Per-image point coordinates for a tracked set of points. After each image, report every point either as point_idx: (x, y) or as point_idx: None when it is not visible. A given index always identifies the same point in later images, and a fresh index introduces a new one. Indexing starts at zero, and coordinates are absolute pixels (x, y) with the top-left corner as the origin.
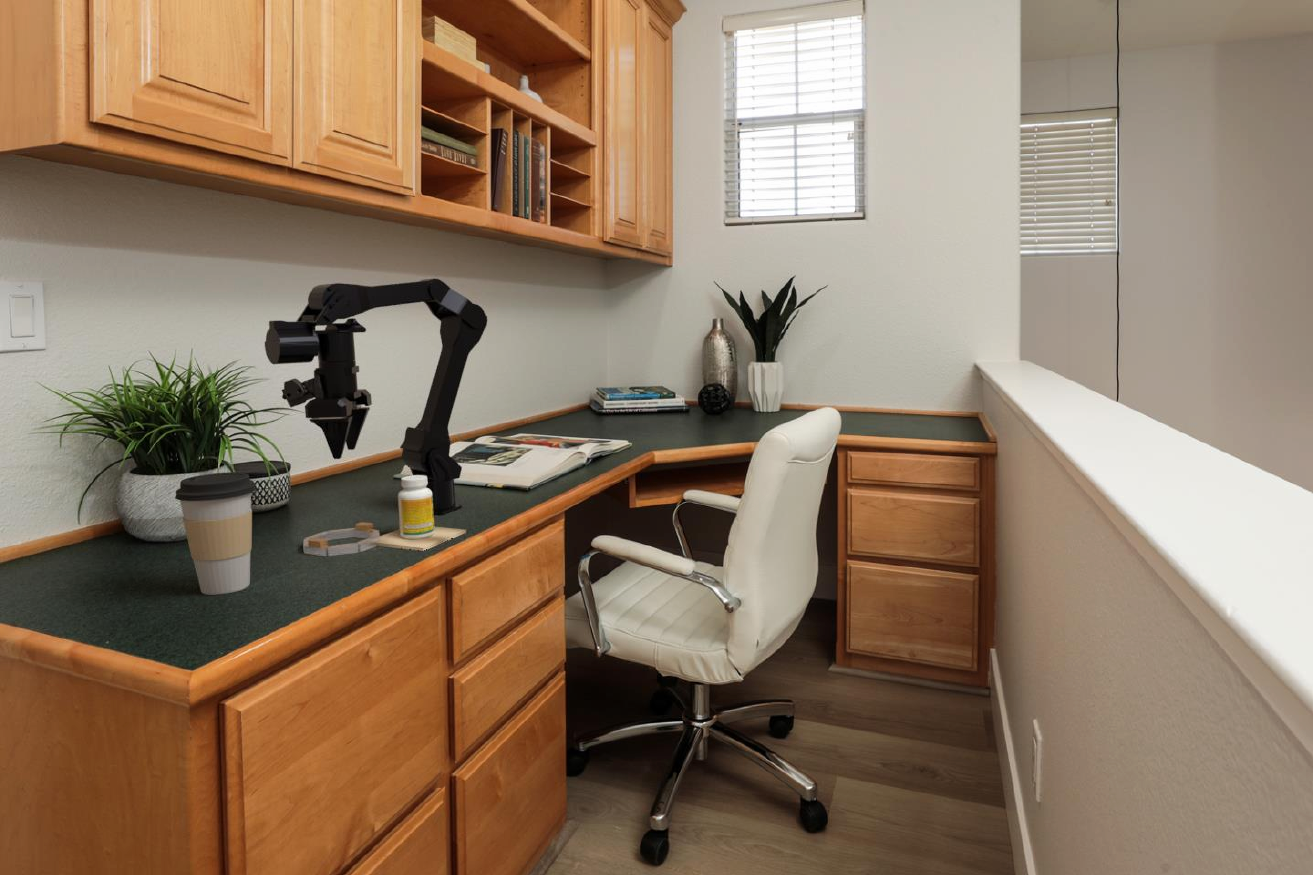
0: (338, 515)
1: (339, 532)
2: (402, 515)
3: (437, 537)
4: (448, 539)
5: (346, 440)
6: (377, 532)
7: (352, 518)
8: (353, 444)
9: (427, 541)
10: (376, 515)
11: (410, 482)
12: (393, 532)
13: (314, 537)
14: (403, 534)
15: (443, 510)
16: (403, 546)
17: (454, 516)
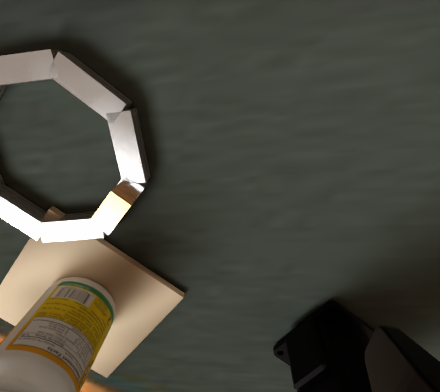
0: (414, 110)
1: (115, 144)
2: (21, 319)
3: None
4: None
5: (417, 386)
6: (82, 235)
7: (347, 155)
8: (380, 389)
9: None
10: (351, 217)
11: None
12: (118, 261)
13: (61, 80)
14: (50, 286)
15: (288, 357)
16: (5, 277)
17: (252, 365)
